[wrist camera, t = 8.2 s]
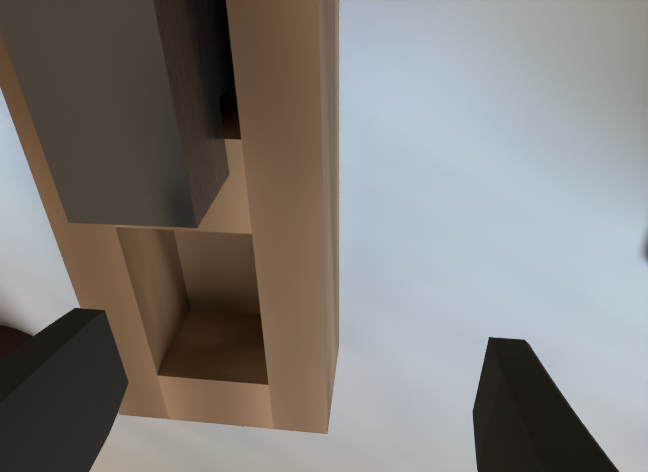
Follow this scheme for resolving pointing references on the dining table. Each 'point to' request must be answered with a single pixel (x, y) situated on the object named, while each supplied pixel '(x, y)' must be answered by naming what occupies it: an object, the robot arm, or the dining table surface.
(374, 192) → the dining table surface
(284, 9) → the wooden slotted block
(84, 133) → the grey rectangular block
